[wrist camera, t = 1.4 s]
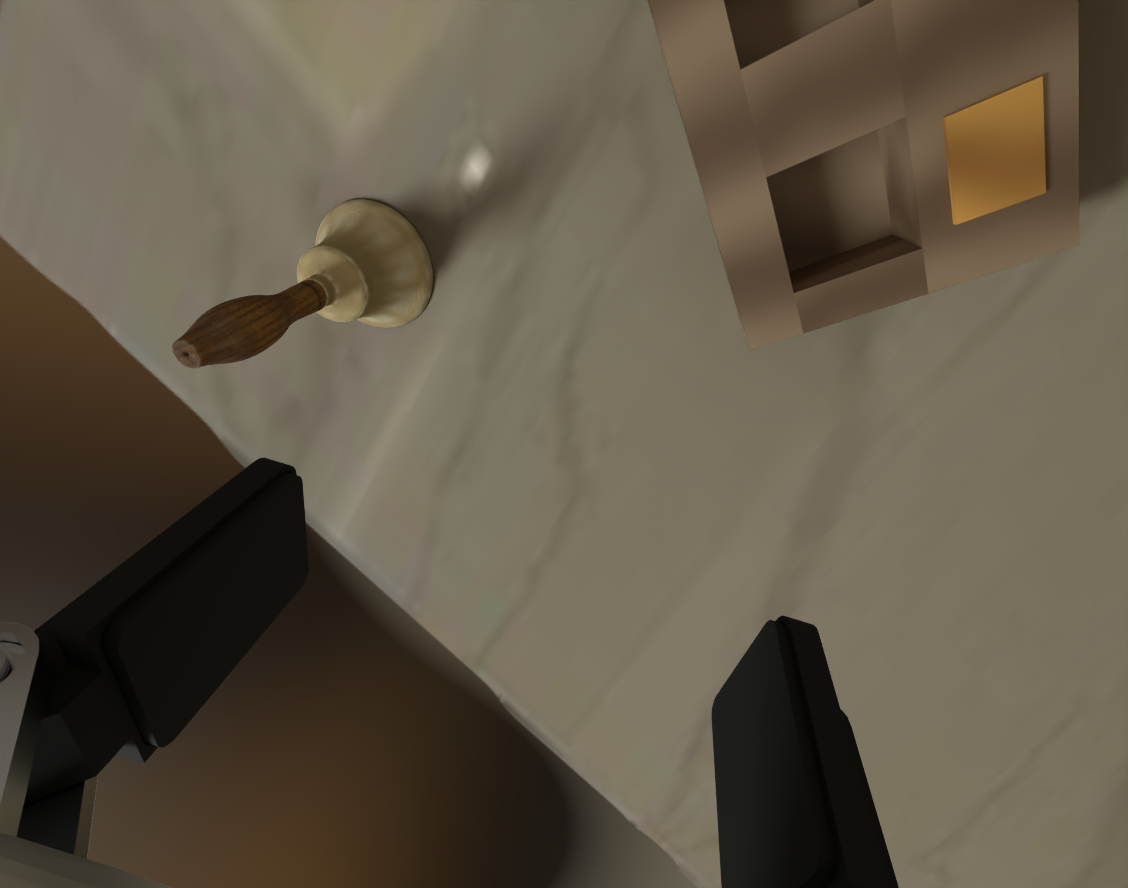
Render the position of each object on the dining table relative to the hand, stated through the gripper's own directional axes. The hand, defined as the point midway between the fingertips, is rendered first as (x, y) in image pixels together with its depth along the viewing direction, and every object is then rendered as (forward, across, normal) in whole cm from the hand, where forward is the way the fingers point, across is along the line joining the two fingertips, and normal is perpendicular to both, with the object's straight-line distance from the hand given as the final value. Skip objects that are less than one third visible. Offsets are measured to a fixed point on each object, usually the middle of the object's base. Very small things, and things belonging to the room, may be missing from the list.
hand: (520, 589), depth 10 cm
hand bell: (+26, +17, +4) cm, 31 cm away
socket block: (+26, -7, -12) cm, 29 cm away
